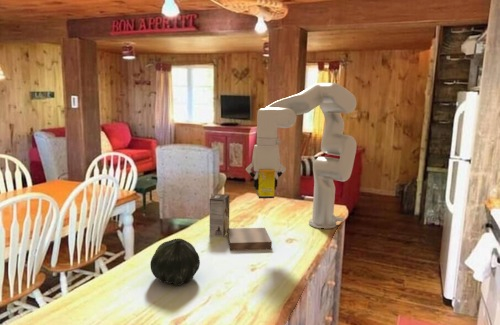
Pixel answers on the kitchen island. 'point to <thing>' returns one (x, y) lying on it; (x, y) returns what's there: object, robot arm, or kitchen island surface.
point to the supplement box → (266, 184)
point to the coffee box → (219, 215)
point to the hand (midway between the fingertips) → (265, 188)
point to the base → (248, 239)
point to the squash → (175, 262)
